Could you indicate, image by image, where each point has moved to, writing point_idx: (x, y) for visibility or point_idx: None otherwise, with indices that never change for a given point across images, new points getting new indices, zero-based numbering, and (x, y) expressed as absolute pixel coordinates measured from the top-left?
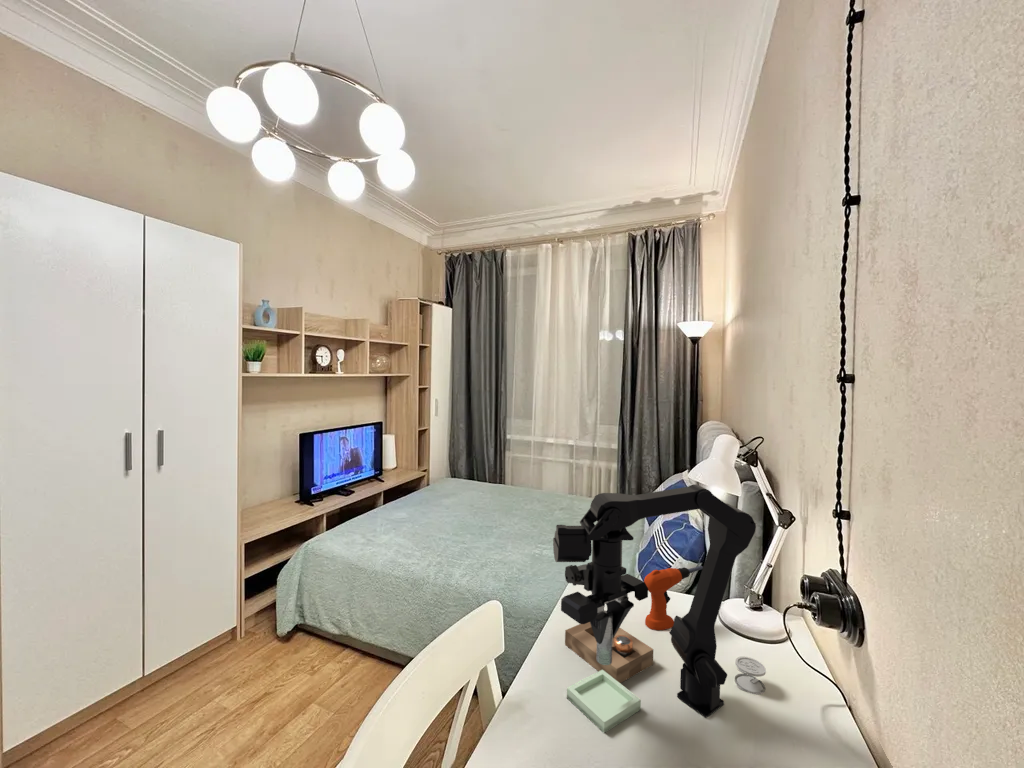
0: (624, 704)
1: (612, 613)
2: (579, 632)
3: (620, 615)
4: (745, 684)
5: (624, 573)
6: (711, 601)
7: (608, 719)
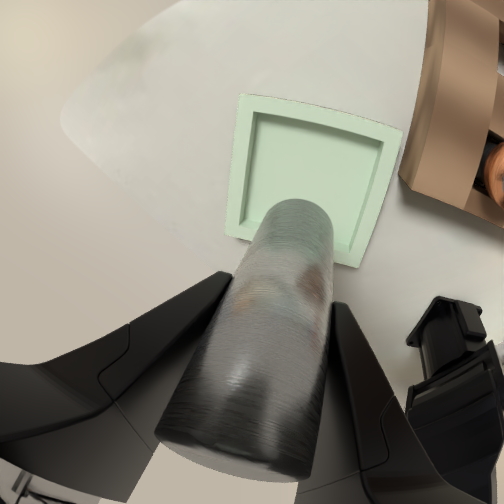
0: None
1: (327, 469)
2: (477, 6)
3: (298, 499)
4: (498, 352)
5: None
6: None
7: (238, 237)
